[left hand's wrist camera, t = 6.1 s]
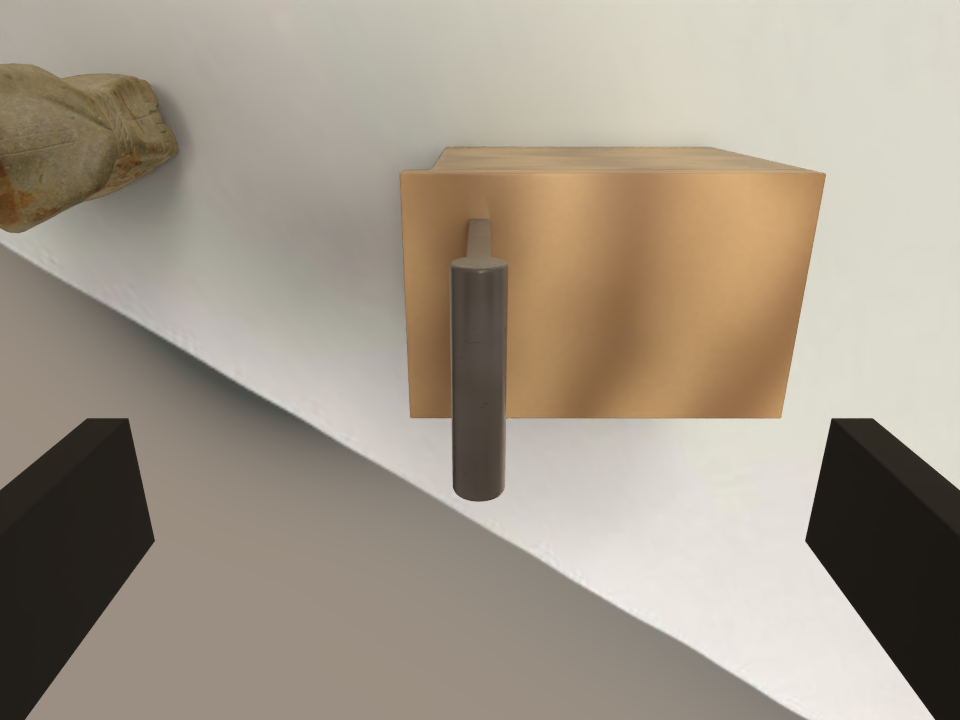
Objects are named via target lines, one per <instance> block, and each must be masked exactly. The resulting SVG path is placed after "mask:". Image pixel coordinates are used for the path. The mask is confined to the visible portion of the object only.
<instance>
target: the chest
mask: <svg viewBox="0 0 960 720" xmlns="http://www.w3.org/2000/svg"><path fill="white" fill-rule="evenodd" d="M431 170H807V169H803V168H799V167H795V166H790V165H786V164H782V163H777V162H773V161H769V160H764V159H760V158H756V157H751V156H747V155H743V154H738V153H734V152H730V151H725V150H721V149H717V148H712V147H446V148H445V149H444V151H443V153H442V154H441V156H440V157H439V159H438V160H437V162H436V163H435V165H434V166H433V168H432V169H431Z"/></svg>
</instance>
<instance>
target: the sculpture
mask: <svg viewBox="0 0 960 720" xmlns="http://www.w3.org/2000/svg"><path fill="white" fill-rule="evenodd" d="M158 106H159V102H158V99H157V97H156V95H155V94H154V92H153V90H152V89H151V87H150V85H149V83H148V82H147V81H145V80H139V79H138V78H136V77H133V76H127V75H117V74H88V75H78V76H72V77H66V78H63V79H60V78H58V77H57V76H55V75H53V74H51V73H49V72H48V71H46V70H44V69H42V68H40V67H37V66H34V65H27V64H1V65H0V228H2V229H3V230H5V231H7V232H10V233H21V232H24V231H26V230H28V229H30V228H32V227H34V226H36V225H38V224H40V223H42V222H44V221H46V220H48V219H50V218H52V217H54V216H55V215H57V214H59V213H61V212H62V211H64V210H66V209H68V208H70V207H73V206H75V205H77V204H79V203H81V202H83V201H87V200H92V199H96V198H99V197H103V196H105V195H108V194H110V193H112V192H114V191H116V190H118V189H120V188H122V187H124V186H126V185H128V184H130V183H132V182H133V181H135V180H137V179H138V178H140V177H142V176H143V175H145V174H147V173H148V172H150V171H151V170H153V169H154V168H155V167H156V166H158V165H160V164H161V163H163V162H165V161H166V160H168V159H169V158H171V157H172V156H174V155H175V154H177V153H178V151H179V148H178V144H177V141H176V138H175V136H174V133H173V131H172V129H171V128H170V127H169V126H168V125H166V124H164V123H163V121H162V118H161V116H160V114H159V111H158V109H157V107H158Z"/></svg>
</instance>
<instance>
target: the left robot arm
mask: <svg viewBox="0 0 960 720" xmlns="http://www.w3.org/2000/svg"><path fill="white" fill-rule="evenodd" d="M154 541H155V539H154V535H153V530H152V526H151V521H150V516H149V512H148V507H147V503H146V498H145V493H144V489H143V484H142V479H141V475H140V470H139V466H138V461H137V457H136V452H135V447H134V442H133V438H132V433H131V429H130V424H129V419H128V418H87V419H86V420H85V421H84V422H82V423H81V424H80V425H79V426H78V427H76V428H75V429H74V430H73V431H71V432H70V433H69V434H68V435H67V436H65V437H64V438H63V439H62V440H61V441H59V442H58V443H57V444H56V445H55V446H53V447H52V448H51V449H50V450H49V451H47V452H46V453H45V454H44V455H42V456H41V457H40V458H39V459H38V460H36V461H35V462H34V463H33V464H31V465H30V466H29V467H28V468H27V469H25V470H24V471H23V472H22V473H21V474H19V475H18V476H17V477H16V478H15V479H13V480H12V481H11V482H10V483H9V484H7V485H6V486H5V487H4V488H2V489H1V490H0V720H25V719H26V717H27V716H28V715H29V713H30V712H31V711H32V709H33V708H34V706H35V705H36V704H37V702H38V701H39V699H40V698H41V697H42V695H43V694H44V693H45V691H46V690H47V688H48V687H49V686H50V684H51V683H52V682H53V680H54V679H55V678H56V676H57V675H58V673H59V672H60V671H61V669H62V668H63V667H64V665H65V664H66V662H67V661H68V660H69V658H70V657H71V655H72V654H73V653H74V651H75V650H76V649H77V647H78V646H79V645H80V643H81V642H82V640H83V639H84V638H85V636H86V635H87V633H88V632H89V631H90V629H91V628H92V627H93V625H94V624H95V623H96V621H97V620H98V618H99V617H100V616H101V614H102V613H103V611H104V610H105V609H106V607H107V606H108V605H109V603H110V602H111V600H112V599H113V598H114V596H115V595H116V594H117V592H118V591H119V590H120V588H121V587H122V585H123V584H124V583H125V581H126V580H127V579H128V577H129V576H130V574H131V573H132V572H133V570H134V569H135V568H136V566H137V565H138V563H139V562H140V561H141V559H142V558H143V557H144V555H145V554H146V552H147V551H148V550H149V548H150V547H151V545H152V544H153V543H154ZM805 541H806V543H807V544H808V546H809V547H810V548H811V550H812V551H813V552H814V554H815V555H816V557H817V558H818V559H819V561H820V562H821V563H822V565H823V566H824V568H825V569H826V570H827V572H828V573H829V574H830V576H831V577H832V579H833V580H834V581H835V583H836V584H837V585H838V587H839V588H840V590H841V591H842V592H843V594H844V595H845V596H846V598H847V599H848V601H849V602H850V603H851V605H852V606H853V607H854V609H855V610H856V612H857V613H858V614H859V616H860V617H861V618H862V620H863V621H864V623H865V624H866V625H867V627H868V628H869V629H870V631H871V632H872V634H873V635H874V636H875V638H876V639H877V640H878V642H879V643H880V645H881V646H882V647H883V649H884V650H885V651H886V653H887V654H888V656H889V657H890V658H891V660H892V661H893V662H894V664H895V665H896V667H897V668H898V669H899V671H900V672H901V673H902V675H903V676H904V678H905V679H906V680H907V682H908V683H909V684H910V686H911V687H912V689H913V690H914V691H915V693H916V694H917V695H918V697H919V698H920V700H921V701H922V702H923V704H924V705H925V706H926V708H927V709H928V711H929V712H930V713H931V715H932V716H933V717H934V719H935V720H960V490H959V489H958V488H956V487H955V486H954V485H953V484H952V483H950V482H949V481H948V480H947V479H945V478H944V477H943V476H942V475H941V474H939V473H938V472H937V471H936V470H935V469H933V468H932V467H931V466H930V465H929V464H927V463H926V462H925V461H924V460H922V459H921V458H920V457H919V456H918V455H916V454H915V453H914V452H913V451H912V450H910V449H909V448H908V447H907V446H906V445H904V444H903V443H902V442H901V441H899V440H898V439H897V438H896V437H895V436H893V435H892V434H891V433H890V432H889V431H887V430H886V429H885V428H884V427H883V426H881V425H880V424H879V423H878V422H876V421H875V420H874V419H873V418H832V419H831V424H830V429H829V433H828V438H827V442H826V447H825V452H824V456H823V461H822V466H821V470H820V475H819V479H818V484H817V489H816V493H815V498H814V503H813V507H812V512H811V516H810V521H809V526H808V530H807V535H806V539H805Z"/></svg>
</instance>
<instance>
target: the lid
mask: <svg viewBox="0 0 960 720" xmlns="http://www.w3.org/2000/svg"><path fill="white" fill-rule="evenodd" d="M825 177H826V174H825V173H821V172H817V171H813V170H403V171H402V172H401V173H400V191H401V215H402V238H403V261H404V284H405V308H406V331H407V354H408V378H409V401H410V417H411V418H452V462H453V489H454V491H455V493H456V494H457V495H458V496H460V497H461V498H463V499H466V500H470V501H488V500H492V499H494V498H496V497H498V496H499V495H501V493H502V492H503V490H504V488H505V445H506V418H781V415H782V409H783V404H784V398H785V393H786V388H787V382H788V377H789V371H790V366H791V361H792V355H793V350H794V344H795V339H796V334H797V328H798V323H799V317H800V312H801V307H802V301H803V296H804V290H805V285H806V280H807V274H808V269H809V263H810V258H811V253H812V247H813V242H814V236H815V231H816V226H817V220H818V215H819V209H820V204H821V199H822V193H823V188H824V182H825Z"/></svg>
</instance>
